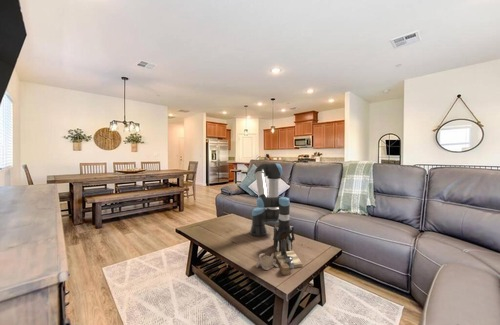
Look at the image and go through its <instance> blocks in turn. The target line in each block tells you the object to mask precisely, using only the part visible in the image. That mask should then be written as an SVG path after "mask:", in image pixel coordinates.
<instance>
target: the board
mask: <svg viewBox="0 0 500 325" xmlns="http://www.w3.org/2000/svg"><path fill="white" fill-rule="evenodd" d="M274 254H275V255H276V256H275V255H274V256H275V257H276V260H277V261H278V263H279V265H280V266H281V264H286V260H285V258H284V257H283V256H282V255H281V252H280V251H279V252H278V251H275V252H274ZM286 254H287V256H291V257H292V258H293V263H294V268H293V269H295V268H303V265H304V264H303V262H302V261H301V260H300V258H299V257H298V255H297V254H296V252H295V251H294V250H291V251H286Z"/></svg>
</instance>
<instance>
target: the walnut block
mask: <svg viewBox="0 0 500 325" xmlns="http://www.w3.org/2000/svg"><path fill="white" fill-rule="evenodd" d="M280 273H281V275H283V276H284V275H290V267H289V265H288V264H287V263H286V264H281V265H280Z"/></svg>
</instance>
